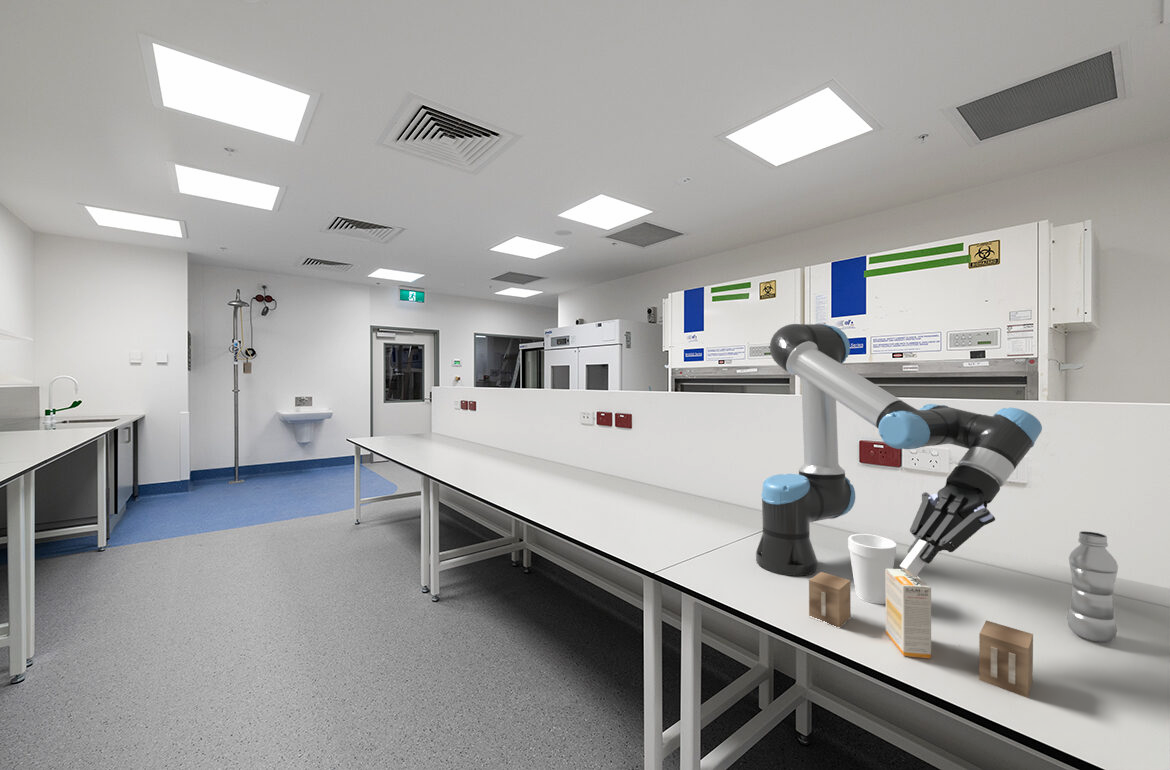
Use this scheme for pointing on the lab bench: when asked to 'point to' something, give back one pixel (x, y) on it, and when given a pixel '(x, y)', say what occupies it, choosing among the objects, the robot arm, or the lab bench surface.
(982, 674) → the walnut block two
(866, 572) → the foam cup
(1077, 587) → the plastic bottle
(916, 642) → the supplement box
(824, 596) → the walnut block one
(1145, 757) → the lab bench surface
